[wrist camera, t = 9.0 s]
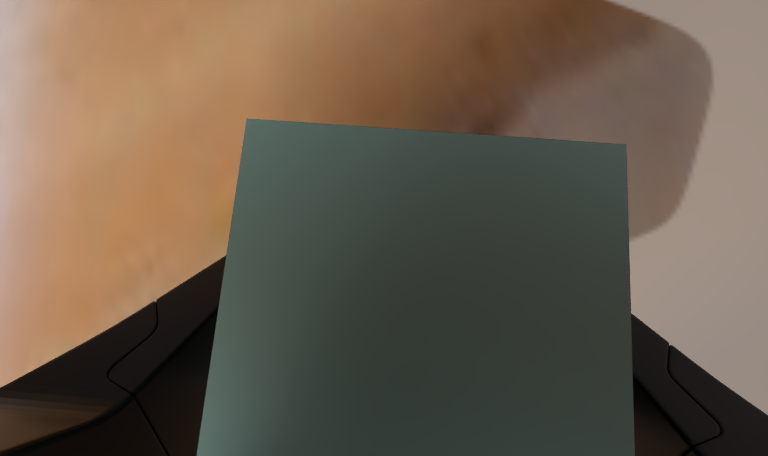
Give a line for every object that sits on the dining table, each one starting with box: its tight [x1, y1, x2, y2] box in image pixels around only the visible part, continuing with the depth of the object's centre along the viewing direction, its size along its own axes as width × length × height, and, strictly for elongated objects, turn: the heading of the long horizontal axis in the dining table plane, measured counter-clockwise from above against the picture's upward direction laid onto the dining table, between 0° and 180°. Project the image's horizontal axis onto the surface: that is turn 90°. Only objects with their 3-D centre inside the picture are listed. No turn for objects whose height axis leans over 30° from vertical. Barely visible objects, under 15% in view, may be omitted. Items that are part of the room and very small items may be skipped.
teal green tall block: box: [197, 119, 635, 456], centre depth 10 cm, size 5×5×14 cm
